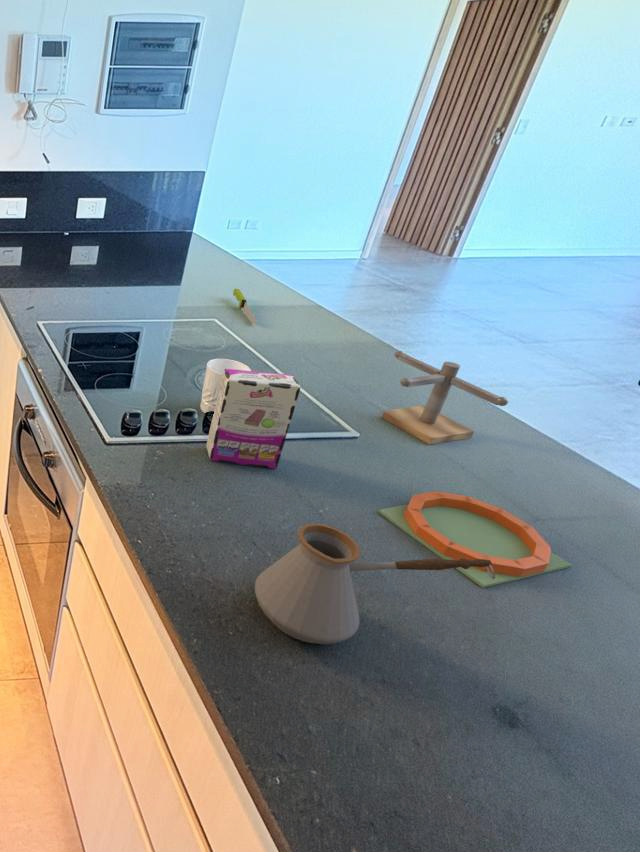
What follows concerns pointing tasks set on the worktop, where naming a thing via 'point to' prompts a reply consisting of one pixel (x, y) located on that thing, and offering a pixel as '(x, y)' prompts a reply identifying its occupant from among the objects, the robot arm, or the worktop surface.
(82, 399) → the worktop surface
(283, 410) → the candy bar box
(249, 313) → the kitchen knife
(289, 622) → the coffee pot
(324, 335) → the worktop surface
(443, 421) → the ring stand
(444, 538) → the ring
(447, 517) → the mat
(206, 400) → the white cup
